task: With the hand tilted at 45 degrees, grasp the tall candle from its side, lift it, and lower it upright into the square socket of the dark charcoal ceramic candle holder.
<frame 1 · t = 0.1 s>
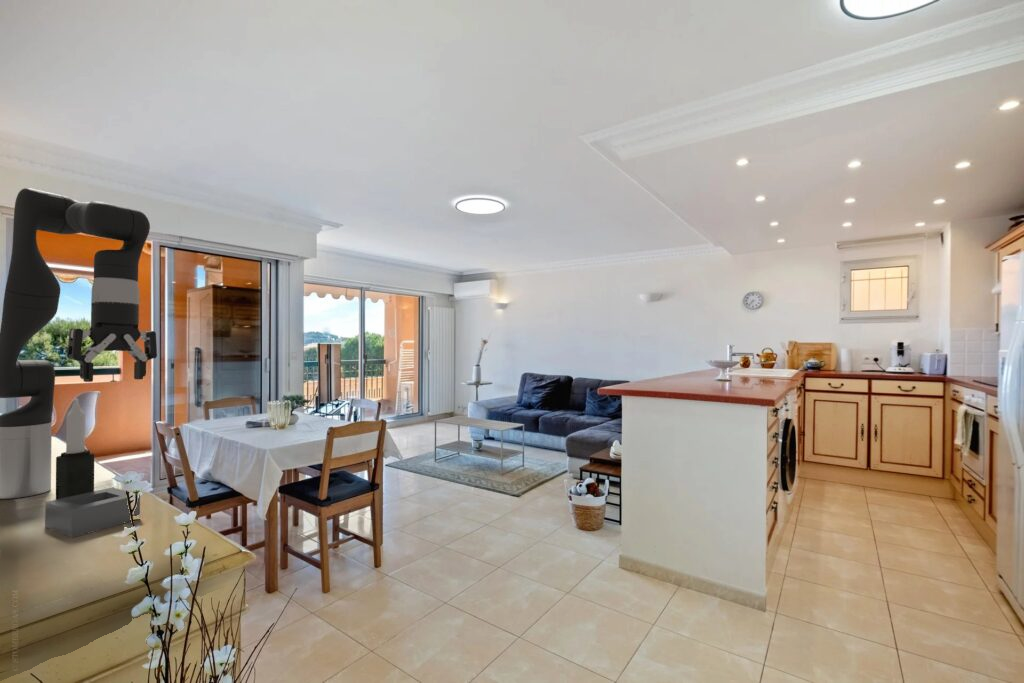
hand: (114, 380, 96), 29 cm above the table, tool pointing down, fingers open, 8 cm apart
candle: (74, 515, 100), on the table
holder: (93, 522, 95), on the table
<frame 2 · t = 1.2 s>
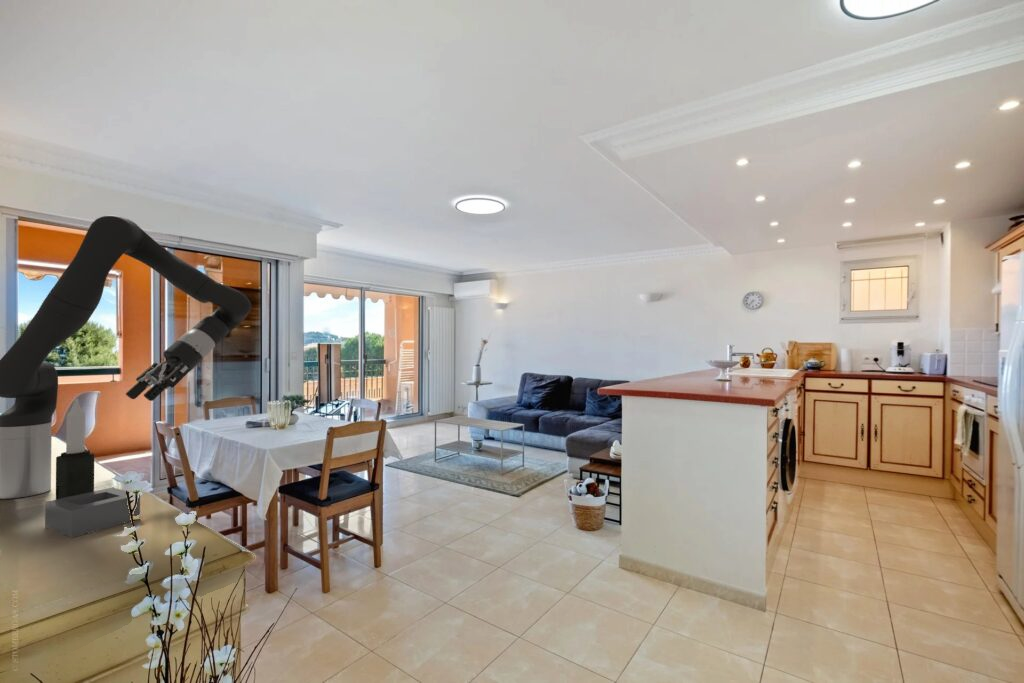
hand: (138, 397, 111), 24 cm above the table, tool tilted 45°, fingers open, 8 cm apart
nothing on the table moved.
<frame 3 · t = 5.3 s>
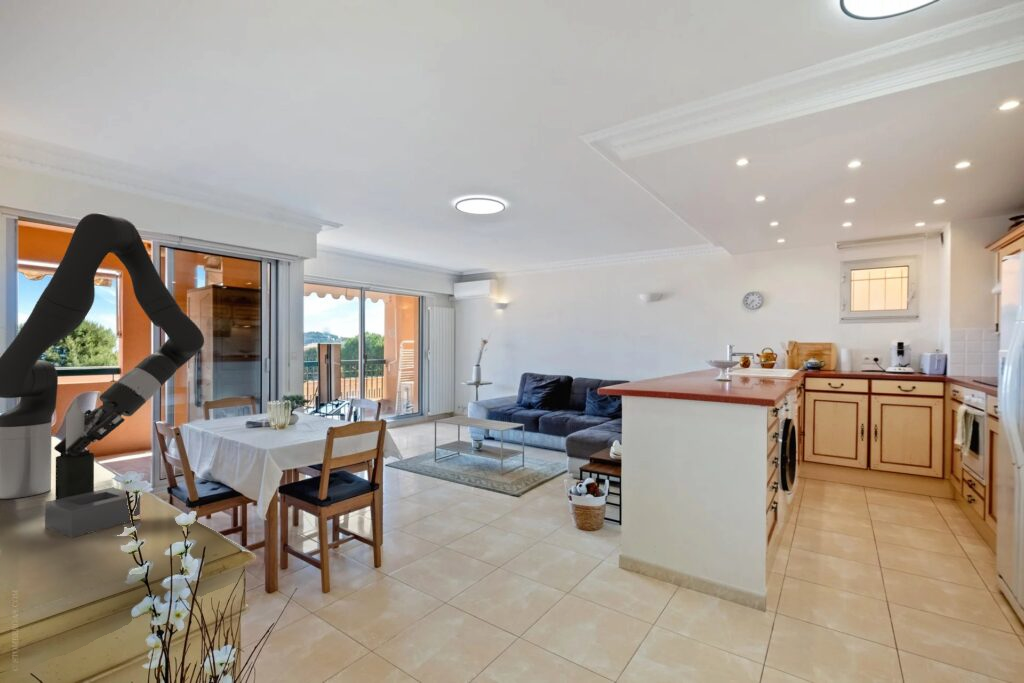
hand: (64, 452, 99), 14 cm above the table, tool tilted 45°, fingers closed on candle, 5 cm apart
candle: (74, 515, 100), on the table, touching gripper
when the fingers open (15 cm above the table, at t = 12.5 s): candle drops 2 cm, resting in holder.
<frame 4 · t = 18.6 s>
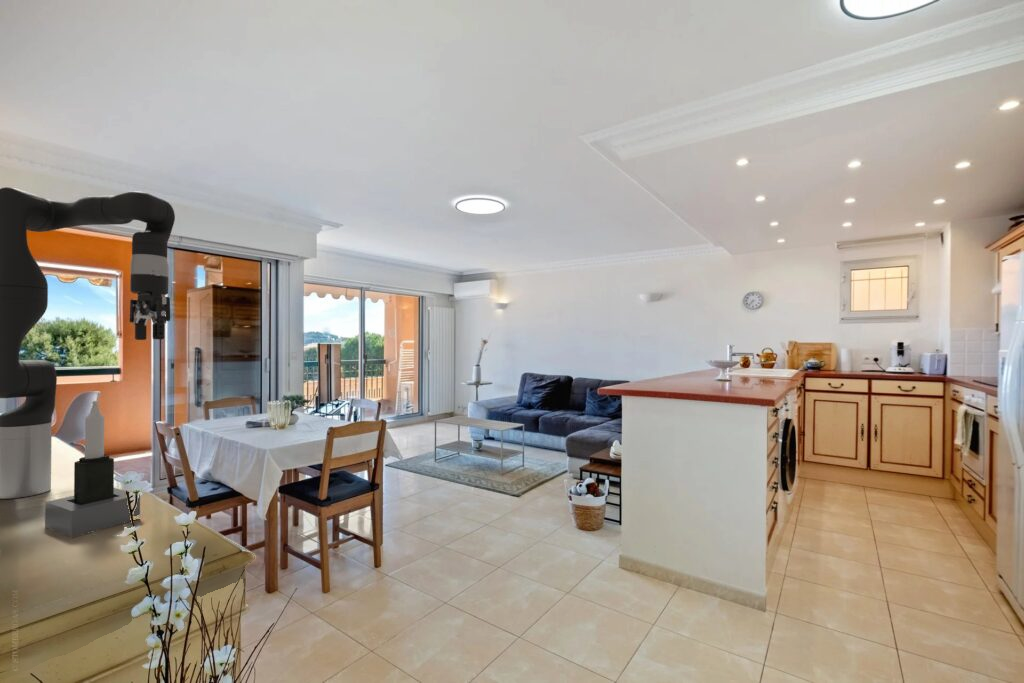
hand: (149, 339, 116), 38 cm above the table, tool pointing down, fingers open, 8 cm apart
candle: (93, 523, 95), resting in holder
at the end: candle 0.1 cm off-centre on the holder, point 0.0 cm above the holder's base; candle tilted 0°; the gripper is holding nothing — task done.
